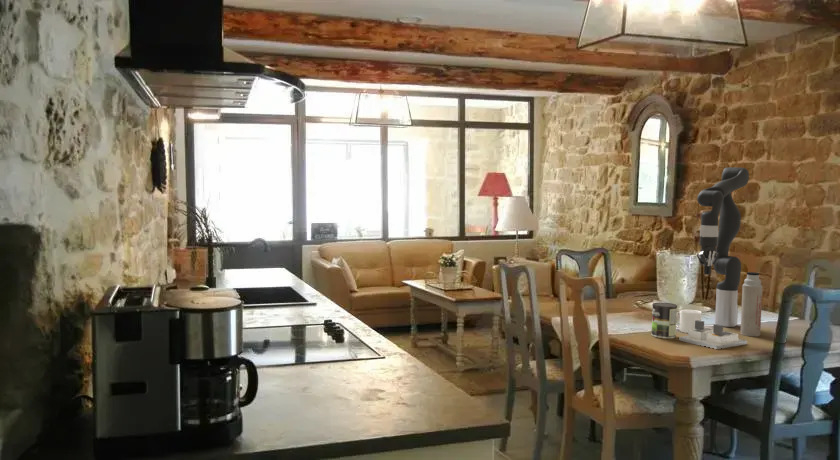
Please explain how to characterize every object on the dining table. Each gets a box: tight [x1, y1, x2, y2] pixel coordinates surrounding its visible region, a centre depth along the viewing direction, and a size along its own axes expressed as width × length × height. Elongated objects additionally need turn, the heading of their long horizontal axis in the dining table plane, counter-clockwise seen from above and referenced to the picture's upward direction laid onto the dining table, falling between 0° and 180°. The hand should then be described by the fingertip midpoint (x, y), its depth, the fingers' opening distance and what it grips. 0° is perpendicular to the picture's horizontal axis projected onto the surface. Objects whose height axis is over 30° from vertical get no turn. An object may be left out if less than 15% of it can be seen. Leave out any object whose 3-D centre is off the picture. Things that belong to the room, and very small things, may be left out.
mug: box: [676, 309, 702, 334], centre depth 305 cm, size 12×9×9 cm
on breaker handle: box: [695, 320, 705, 330], centre depth 285 cm, size 2×3×4 cm, turn 30°
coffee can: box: [650, 301, 678, 340], centre depth 294 cm, size 10×10×14 cm
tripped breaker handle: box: [712, 323, 724, 334], centre depth 278 cm, size 2×3×4 cm, turn 30°
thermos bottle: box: [740, 271, 763, 337], centre depth 299 cm, size 8×8×28 cm
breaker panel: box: [678, 326, 748, 350], centre depth 283 cm, size 20×18×5 cm
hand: (707, 274), depth 298 cm, fingers closed
